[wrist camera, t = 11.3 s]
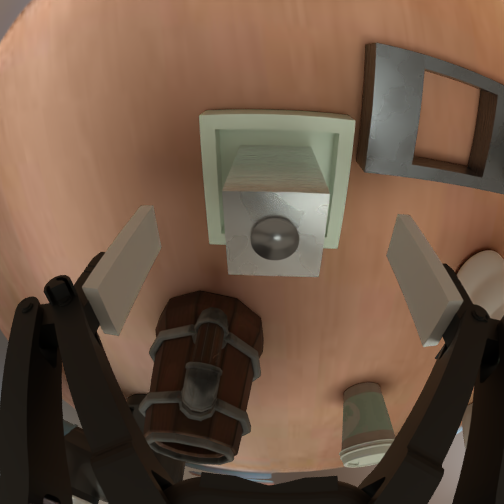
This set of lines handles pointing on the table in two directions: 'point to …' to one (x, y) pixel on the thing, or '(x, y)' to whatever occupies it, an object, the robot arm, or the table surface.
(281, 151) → the block
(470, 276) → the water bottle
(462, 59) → the table surface
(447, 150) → the table surface
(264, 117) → the parts tray
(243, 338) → the mug
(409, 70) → the grey rectangular frame
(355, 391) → the coffee cup
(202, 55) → the table surface
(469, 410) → the cup
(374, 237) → the table surface
